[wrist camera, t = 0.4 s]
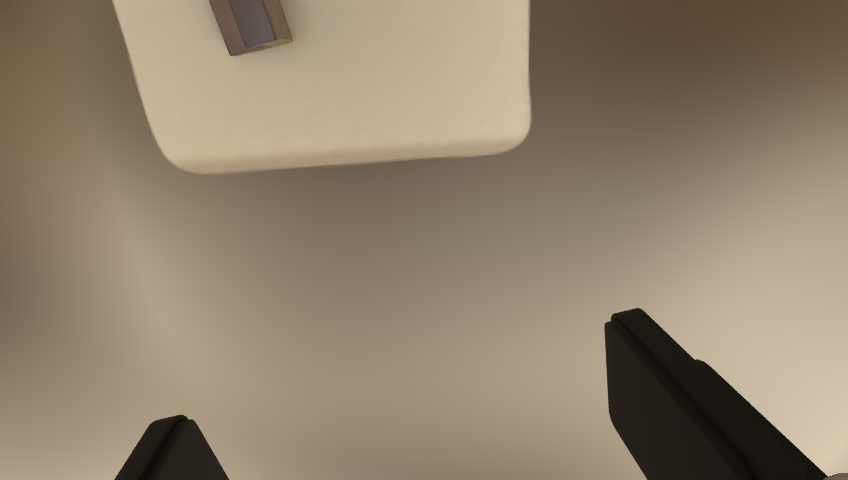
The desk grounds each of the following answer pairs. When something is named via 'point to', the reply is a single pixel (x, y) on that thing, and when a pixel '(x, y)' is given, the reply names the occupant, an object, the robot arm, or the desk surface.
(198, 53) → the desk surface
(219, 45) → the desk surface
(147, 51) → the desk surface
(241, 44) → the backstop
